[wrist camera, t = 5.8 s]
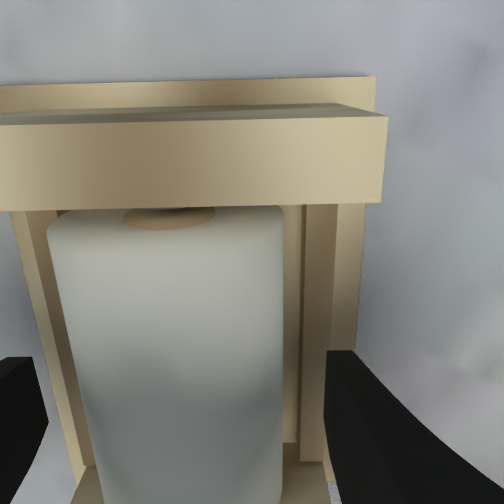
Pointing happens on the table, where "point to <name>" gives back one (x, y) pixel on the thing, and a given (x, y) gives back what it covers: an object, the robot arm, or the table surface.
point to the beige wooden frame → (205, 195)
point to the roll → (177, 348)
